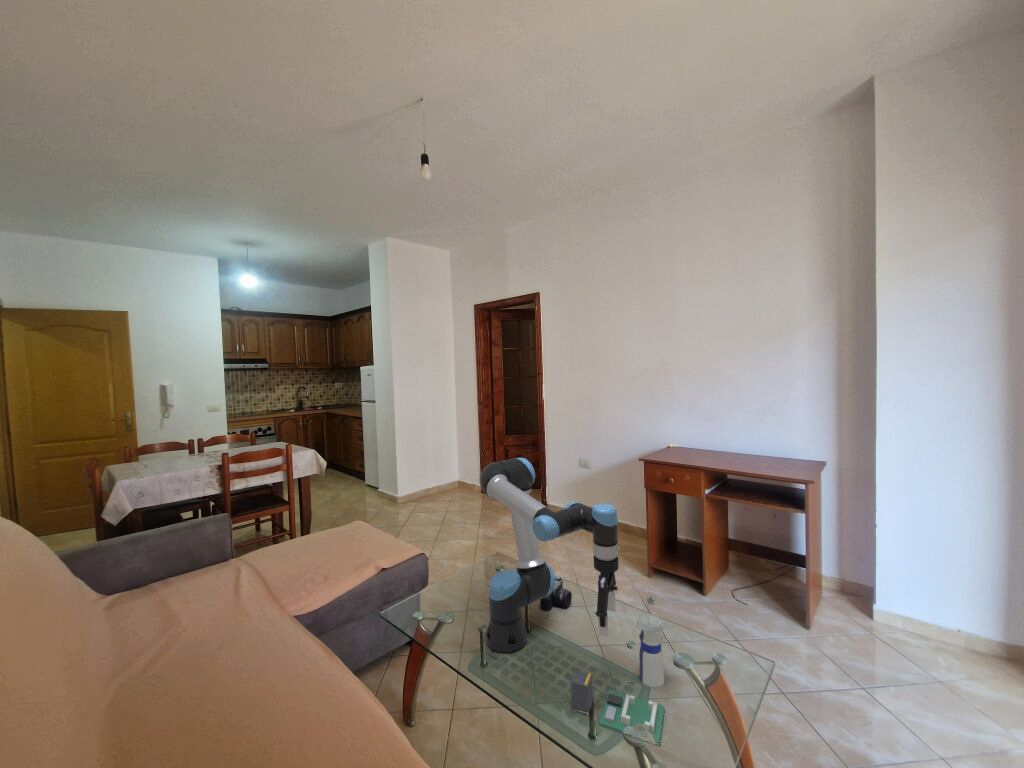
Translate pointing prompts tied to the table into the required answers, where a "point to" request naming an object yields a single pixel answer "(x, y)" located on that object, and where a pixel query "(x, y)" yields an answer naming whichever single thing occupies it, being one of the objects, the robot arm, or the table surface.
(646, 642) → the water bottle
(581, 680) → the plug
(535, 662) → the table surface
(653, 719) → the board
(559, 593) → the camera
